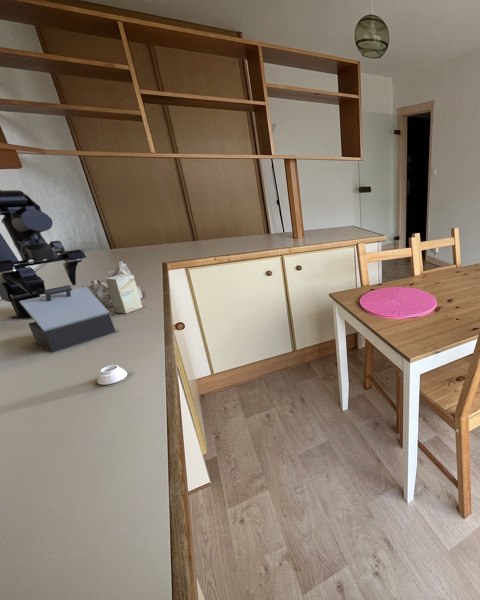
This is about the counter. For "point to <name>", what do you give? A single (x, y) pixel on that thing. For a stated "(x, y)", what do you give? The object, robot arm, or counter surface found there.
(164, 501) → the counter surface
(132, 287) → the cosmetic box
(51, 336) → the sloped grey box
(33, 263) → the robot arm
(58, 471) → the counter surface
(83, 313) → the bread lid
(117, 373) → the upturned white bowl
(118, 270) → the beige crumpled lump
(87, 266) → the counter surface
